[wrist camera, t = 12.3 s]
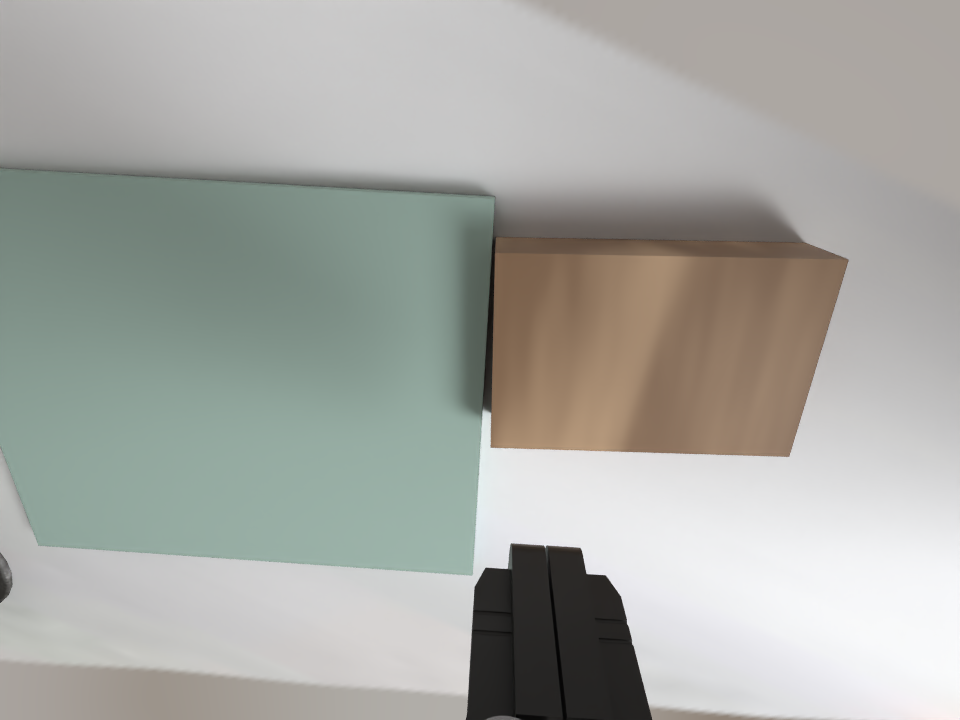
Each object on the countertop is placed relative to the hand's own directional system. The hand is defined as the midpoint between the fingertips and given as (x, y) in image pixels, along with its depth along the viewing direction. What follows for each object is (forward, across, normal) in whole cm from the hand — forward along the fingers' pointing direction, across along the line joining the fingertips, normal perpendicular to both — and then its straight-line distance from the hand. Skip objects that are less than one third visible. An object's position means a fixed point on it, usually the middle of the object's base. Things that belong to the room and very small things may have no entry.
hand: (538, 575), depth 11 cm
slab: (+6, +1, -3) cm, 7 cm away
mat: (+7, +10, 0) cm, 12 cm away
